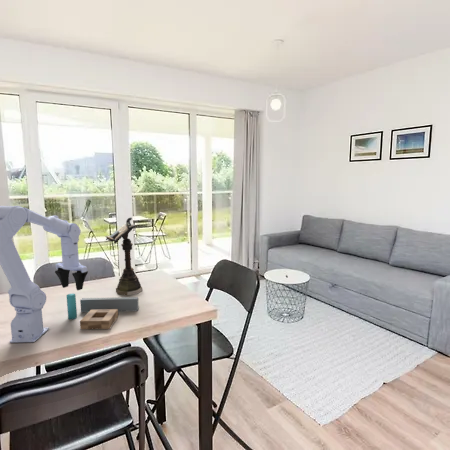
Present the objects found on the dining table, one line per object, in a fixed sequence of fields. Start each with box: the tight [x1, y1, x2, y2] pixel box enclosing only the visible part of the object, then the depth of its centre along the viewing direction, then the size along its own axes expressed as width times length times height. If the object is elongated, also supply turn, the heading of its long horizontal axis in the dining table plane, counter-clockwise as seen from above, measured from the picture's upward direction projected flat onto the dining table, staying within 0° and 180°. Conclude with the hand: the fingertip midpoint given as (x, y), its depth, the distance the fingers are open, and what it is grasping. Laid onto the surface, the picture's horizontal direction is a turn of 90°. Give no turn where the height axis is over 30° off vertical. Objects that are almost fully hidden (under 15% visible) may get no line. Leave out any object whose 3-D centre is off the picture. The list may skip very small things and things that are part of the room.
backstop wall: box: [79, 296, 139, 313], centre depth 128 cm, size 4×22×5 cm, turn 92°
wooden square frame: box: [79, 309, 119, 330], centre depth 116 cm, size 10×10×3 cm
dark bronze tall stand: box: [105, 217, 143, 296], centre depth 145 cm, size 17×13×35 cm
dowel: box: [66, 293, 78, 321], centre depth 120 cm, size 3×3×9 cm
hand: (72, 288), depth 124 cm, fingers open, 7 cm apart
